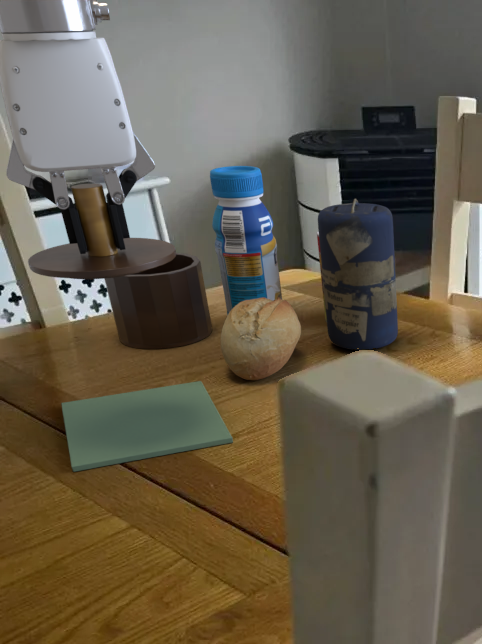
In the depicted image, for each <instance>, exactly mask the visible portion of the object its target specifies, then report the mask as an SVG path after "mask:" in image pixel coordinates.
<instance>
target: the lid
mask: <svg viewBox="0 0 482 644" xmlns="http://www.w3.org/2000/svg"><path fill="white" fill-rule="evenodd" d="M70 190H71V194H72V199H73V203H74V205H75V206H76V208H77V211H78V215H79V219H80V223H81V227H82V230H83V234H84V238H85V242H86V246H87V250H88V252H86V254H80V251H79V248H78V244H77V243H75V244H70V243H65V244H60V245H56V246H52V247H50V248H46V249H42V250H40V251H38V252H36V253H34V254H33V255H31V256H30V257H29V258H28V260H27V264H28V266H29V267H28V268H29V269H30V271H31V272H33V273H35V274H37V275H40V276H45V277H51V278H59V279H72V280H103V279H104V278H114V277H121V276H126V275H131V274H135V273H139V272H142V271H145V270H148V269H152V268H155V267H158V266H161V265H163V264H166V263H168V262H170V261H171V260H173V259H174V258H175V256H176V253H177V249H176V247H175V245H174V244H172V243H170V242H168V241H166V240H162V239H155V238H148V237H146V238H145V237H130V238H124V239H123V240H124V244H125V249H126V250H120V249H117V246H116V242H115V238H114V234H113V229H112V225H111V221H110V217H109V212H108V208H107V203H106V202H107V198H106V194H105V191H104V186H103V184H101V183H96V182H95V183H92V182H91V183H79V184H74V185H72V186H70ZM104 280H105V279H104Z"/></svg>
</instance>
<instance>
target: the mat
mask: <svg viewBox="0 0 482 644" xmlns="http://www.w3.org/2000/svg"><path fill="white" fill-rule="evenodd" d="M60 404H61V411H62V416H63V423H64V429H65V435H66V441H67V448H68V454H69V460H70V466H71V470H72V472H73V473H74V472H75V473H76V472H80V471H86V470H91V469H96V468H102V467H108V466H112V465H118V464H125V463H129V462H134V461H140V460H146V459H150V458H156V457H157V458H158V457H162V456H168V455H173V454H178V453H184V452H188V451H193V450H199V449H204V448H210V447H216V446H222V445H226V444H231V443H234V438H233V436H232V435H231V432H230V431H229V428H228V427H227V425H226V423H225V422H224V420H223V418H222V416H221V414H220V413H219V411H218V409H217V407H216V405H215V403H214V402H213V400H212V398H211V396H210V394H209V392H208V391H207V389H206V387H205V385H204V383H203V382H202V380H197V381H191V382H185V383H177V384H171V385H167V386H158V387H154V388H148V389H142V390H134V391H129V392H122V393H116V394H110V395H109V394H108V395H103V396H96V397H90V398H84V399H83V398H82V399H77V400H72V401H71V400H70V401H65V402H61V403H60Z"/></svg>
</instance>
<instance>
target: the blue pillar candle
mask: <svg viewBox="0 0 482 644" xmlns="http://www.w3.org/2000/svg"><path fill="white" fill-rule="evenodd" d="M317 228H318V229H317V230H318V231H319V243H320V253H321V264H322V277H323V286H322V285H321V288H322V287H323V291H322V293H323V292H324V299H325V308H326V318H327V322H326V327H327V336H328V338H329V340H330V341H331V343H332V344H333V345H334V346H337V347H340V348H342V349H347V350H353V349H355V351H363V350H362V349H369V350H374V349H373V348H376V349H379V348H384V347H386V346H388V345H391V344H392V343H393V342H395V340H396V339H397V338H398V334H399V333H398V332H399V324H398V323H399V322H398V305H397V304H398V300H397V280H396V278H397V277H396V259H395V257H396V256H395V237H394V218H393V213H392V211H391V210H390V209H389V208H388V207H387V206H384V205H380V204H376V203H365V202H364V203H363V202H359V201H358V199H357V198H354V199H353V201H352V202H350V203H340V204H339V203H338V204H333V205H330V206H326V207H324V208H322V209H321V210H320V211H319V213H318V215H317ZM318 231H317V232H318ZM357 348H359V349H357Z"/></svg>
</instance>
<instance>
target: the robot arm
mask: <svg viewBox="0 0 482 644" xmlns="http://www.w3.org/2000/svg"><path fill="white" fill-rule="evenodd" d="M102 21H103V22H105V21H111V18H110V11H109V7H108V3H107V1H98V0H0V35H1V38H2V39H0V90H1V94H2V98H3V102H4V107H5V112H6V116H7V120H8V124H9V128H10V132H11V136H12V142H11V147H10V152H9V156H8V162H7V165H6V166H7V167H6V171H5V172H6V174H5V175H6V177H7V179H8V180H9V181H11V182H14V183H16V184H18V185H21V186H24V187H26V188H28V189H29V188H30V189H32V190H35V191H36V192H38V193H39V195H40V194H41V195H42V196H43V197H44V198H46V199H47V200H48V201H50V202H51V203H52V204H54V205H55V206H56V207H57V208H59V209H60V214H61V217H62V220H63V224H64V228H65V232H66V235H67V240H68V242H69V243H70V244H75V243H77V244H78V248H79V251H80V254H86V252H88V250H87V246H86V242H85V238H84V234H83V230H82V227H81V223H80V219H79V215H78V211H77V208H76V206H75V204H74V200H73V198H72V197H70V196H69V192H68V191H69V190H68V187H67V181H66V175H65V172H68V171H69V172H70V171H81V170H93V169H95V170H97V169H100V171H101V175H102V177H103V180H104V184H105V187H106V190H107V193H106V194H105V198H106V203H107V208H108V212H109V217H110V221H111V225H112V229H113V234H114V238H115V242H116V246H117V249H120V250H126V249H125V244H124V240H123V239H124V238H131V236H130V235H131V234H130V231H129V225H128V223H127V217H126V213H125V209H124V203H125V200H126V198H127V196H128V195H129V194H130V192H131V190H132V189H133V187H134V186H135V184H136V183H137V182H138V181H139V180H141V179H143V178H144V177H145V176H147V175H148V174H149V173H151V172H153V171H154V169H155V167H156V164H155V161H154V160H153V158H152V157H151V156H150V154H149V152H148V151H147V150H146V148H145V147H144V145H143V144H142V143H141V142H140V140H139V138H138V137H137V135H136V134H135V133H134V131H133V127H132V126H133V125H132V122H131V119H130V115H129V111H128V107H127V103H126V99H125V96H124V91H123V89H122V84H121V82H120V79H119V76H118V73H117V70H116V67H115V64H114V60H113V56H112V54H111V51H110V48H109V46H108V43H107V41H106V39H105V37H97V34H96V26H98V24H99V23H102ZM127 165H128V166H127ZM123 166H127V167H126V168H124V169H122V171H121V172H120V174H118V170H117V168H118V167H123ZM28 169H29V170H32V171H34V172H40V173H49V174H48V175H49V178H50V179H49V180H48V179H46V178H45V177H43V175H39V174H37V173H33V172H32V171H29V170H28ZM69 243H68V244H69Z"/></svg>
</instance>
